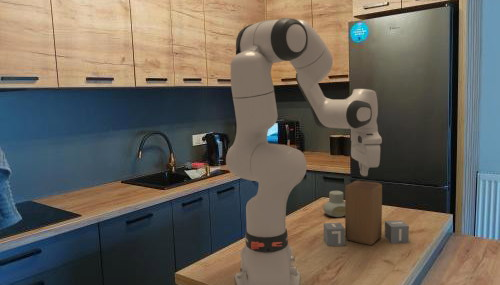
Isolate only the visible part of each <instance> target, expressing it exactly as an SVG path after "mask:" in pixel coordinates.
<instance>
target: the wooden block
mask: <svg viewBox="0 0 500 285" xmlns="http://www.w3.org/2000/svg"><path fill="white" fill-rule="evenodd" d="M344 187H345V189H344V190H345V195H344V199H345V201H344V202H345V216H344V218H345V219H344V222H345V223H344V224H345V225H344V228H345V240H347V241H352V242H356V243H359V244H364V245H368V246H371V245H372V246H373V244H375V243H376V242H377V241H378V240H379V239H380V238H381V237H382V233H383V232H382V229H383V228H382V226H383V225H382V224H383V222H382V219H383V215H382V214H383V213H382V212H383V185H382V183H380V182H376V181H375V182H373V181H367V180H366V181H365V180H359V179H358V180H355V181H352V182H350V183H348V184H346V185H345V186H344Z"/></svg>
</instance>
